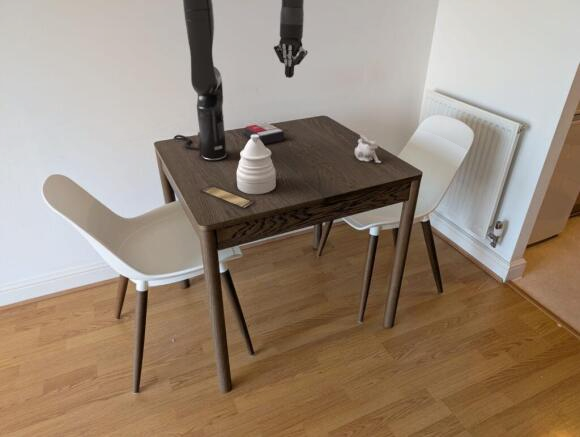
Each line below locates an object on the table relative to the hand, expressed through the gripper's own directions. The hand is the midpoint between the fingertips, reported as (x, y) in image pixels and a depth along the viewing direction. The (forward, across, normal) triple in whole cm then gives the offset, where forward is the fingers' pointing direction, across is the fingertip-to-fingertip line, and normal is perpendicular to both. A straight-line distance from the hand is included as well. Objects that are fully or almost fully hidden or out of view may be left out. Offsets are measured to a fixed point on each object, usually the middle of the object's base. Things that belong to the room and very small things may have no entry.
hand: (289, 77), depth 146 cm
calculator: (+30, -21, +13) cm, 39 cm away
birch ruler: (+31, +4, -35) cm, 47 cm away
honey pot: (+31, +6, -23) cm, 39 cm away
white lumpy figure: (+29, +24, +17) cm, 41 cm away
